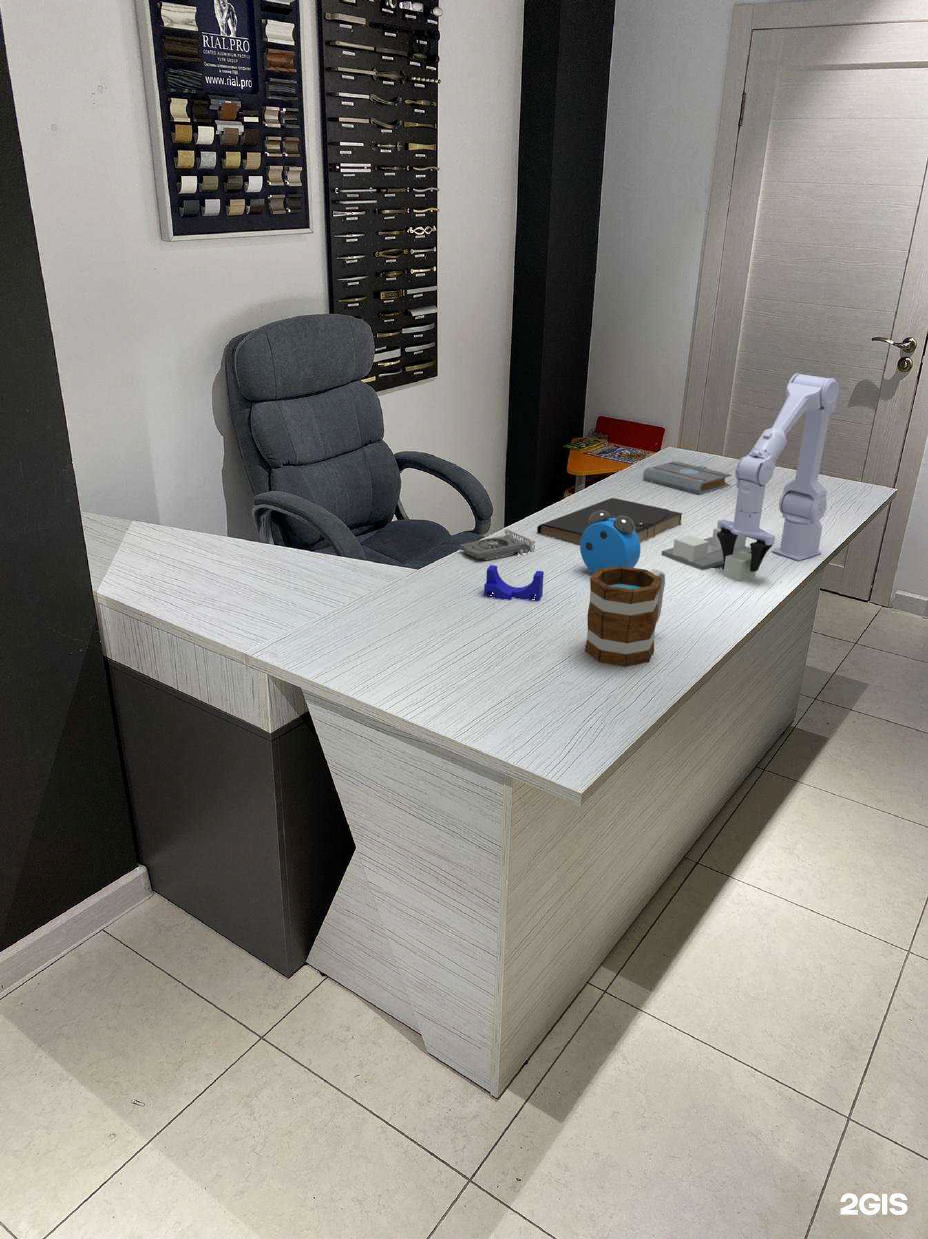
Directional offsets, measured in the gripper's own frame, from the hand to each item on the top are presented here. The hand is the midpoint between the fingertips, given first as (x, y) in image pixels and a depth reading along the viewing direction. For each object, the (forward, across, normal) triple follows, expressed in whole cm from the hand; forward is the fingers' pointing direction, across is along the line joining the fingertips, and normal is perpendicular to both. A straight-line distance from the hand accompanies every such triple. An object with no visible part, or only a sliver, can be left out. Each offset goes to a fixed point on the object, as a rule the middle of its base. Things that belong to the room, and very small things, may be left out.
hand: (740, 566), depth 221 cm
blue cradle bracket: (+3, -21, -51) cm, 55 cm away
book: (+3, -61, +52) cm, 80 cm away
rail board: (+2, -14, +6) cm, 15 cm away
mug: (+3, +12, -49) cm, 50 cm away
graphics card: (+3, -46, -36) cm, 59 cm away
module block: (+3, 0, 0) cm, 3 cm away
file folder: (+3, -42, 0) cm, 42 cm away
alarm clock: (+3, -18, -25) cm, 31 cm away
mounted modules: (+2, -14, +6) cm, 15 cm away
